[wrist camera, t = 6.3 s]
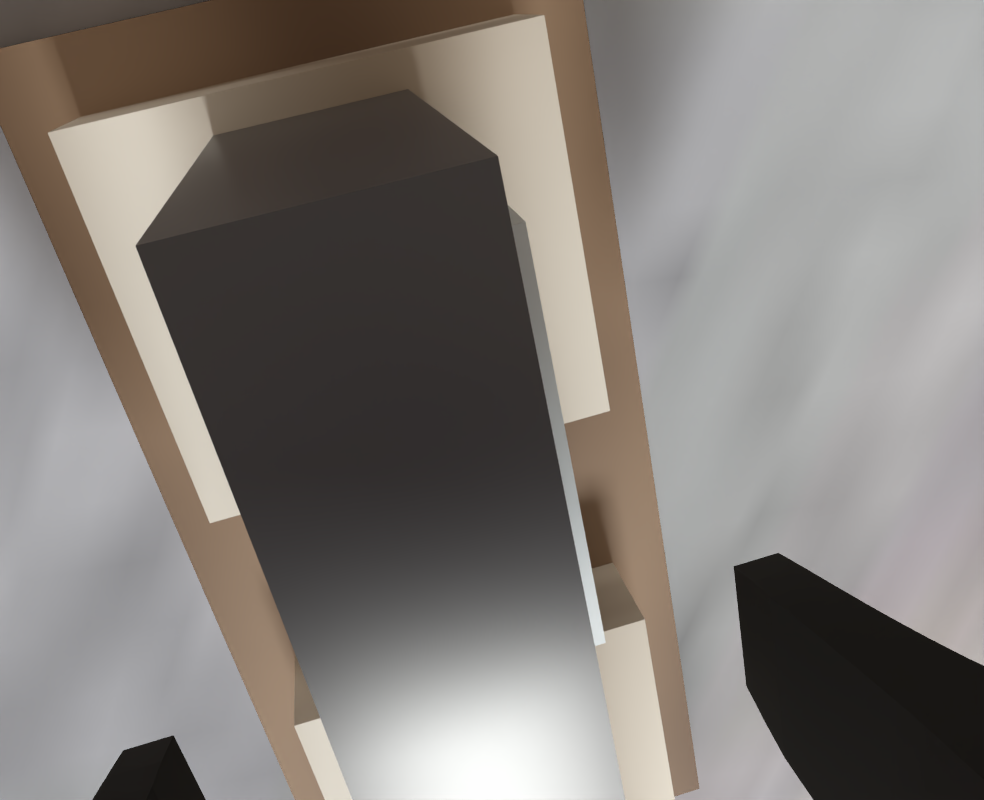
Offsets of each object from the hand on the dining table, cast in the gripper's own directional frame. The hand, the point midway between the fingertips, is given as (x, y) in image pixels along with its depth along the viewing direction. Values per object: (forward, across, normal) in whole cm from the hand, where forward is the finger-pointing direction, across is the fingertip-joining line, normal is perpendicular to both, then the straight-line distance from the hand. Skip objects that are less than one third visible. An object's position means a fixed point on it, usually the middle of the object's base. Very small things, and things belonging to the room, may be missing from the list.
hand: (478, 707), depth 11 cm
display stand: (+5, 0, 0) cm, 5 cm away
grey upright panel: (+3, 0, 0) cm, 3 cm away
